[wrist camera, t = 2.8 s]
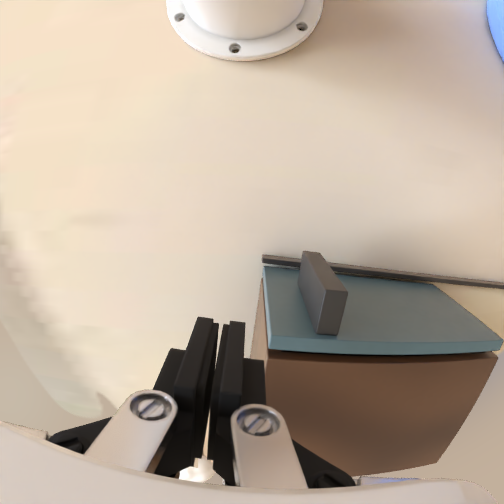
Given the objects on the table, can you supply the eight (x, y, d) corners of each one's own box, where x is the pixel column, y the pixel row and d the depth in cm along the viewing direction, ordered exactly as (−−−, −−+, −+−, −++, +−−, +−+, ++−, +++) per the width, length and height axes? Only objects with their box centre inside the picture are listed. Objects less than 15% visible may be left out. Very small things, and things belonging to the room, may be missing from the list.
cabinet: (262, 254, 25) (268, 323, 14) (509, 283, 26) (578, 326, 15) (244, 380, 29) (240, 477, 17) (472, 378, 29) (520, 435, 18)
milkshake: (231, 396, 29) (224, 475, 19) (213, 427, 30) (203, 501, 21) (187, 381, 29) (166, 458, 19) (173, 414, 30) (153, 486, 20)
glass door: (267, 235, 24) (278, 287, 14) (439, 258, 25) (516, 306, 14) (262, 275, 25) (268, 349, 15) (430, 292, 26) (499, 350, 15)
